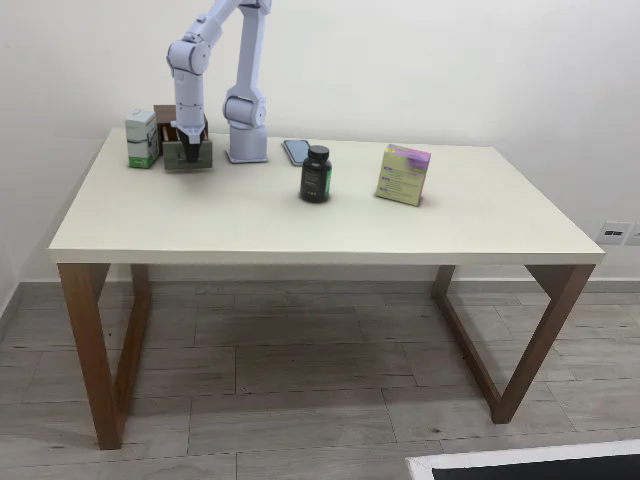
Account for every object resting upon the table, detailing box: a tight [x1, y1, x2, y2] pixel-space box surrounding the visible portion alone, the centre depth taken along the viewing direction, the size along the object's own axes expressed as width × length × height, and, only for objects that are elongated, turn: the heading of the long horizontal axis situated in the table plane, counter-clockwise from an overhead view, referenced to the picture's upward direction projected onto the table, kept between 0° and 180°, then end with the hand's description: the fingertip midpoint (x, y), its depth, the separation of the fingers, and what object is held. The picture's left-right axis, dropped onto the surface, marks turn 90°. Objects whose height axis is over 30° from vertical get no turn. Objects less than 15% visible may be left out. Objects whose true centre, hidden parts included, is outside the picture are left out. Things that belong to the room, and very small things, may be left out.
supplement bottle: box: [299, 144, 333, 204], centre depth 114 cm, size 7×7×12 cm
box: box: [375, 143, 432, 207], centre depth 119 cm, size 10×6×12 cm, turn 71°
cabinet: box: [153, 104, 209, 156], centre depth 133 cm, size 14×13×9 cm
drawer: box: [162, 126, 214, 171], centre depth 122 cm, size 17×11×7 cm
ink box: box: [124, 108, 159, 169], centre depth 121 cm, size 9×5×12 cm, turn 179°
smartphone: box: [282, 139, 311, 167], centre depth 137 cm, size 7×1×15 cm
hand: (191, 161), depth 111 cm, fingers closed
